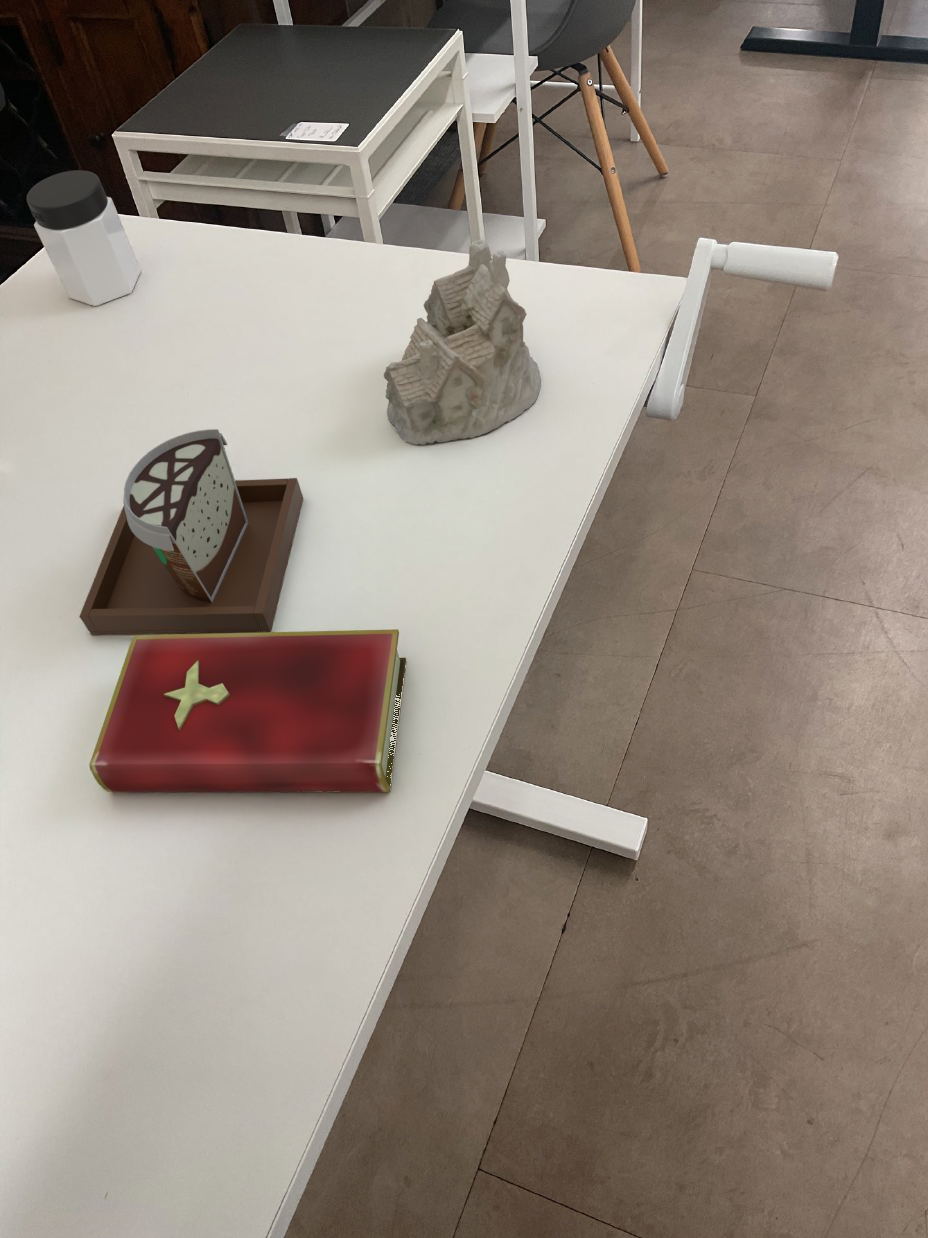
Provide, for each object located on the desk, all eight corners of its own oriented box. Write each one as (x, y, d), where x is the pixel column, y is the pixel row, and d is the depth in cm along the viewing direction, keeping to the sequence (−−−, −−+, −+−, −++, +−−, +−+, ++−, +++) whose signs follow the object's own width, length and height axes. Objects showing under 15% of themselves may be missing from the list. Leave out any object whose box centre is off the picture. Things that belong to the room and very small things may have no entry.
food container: (191, 507, 92) (152, 421, 85) (253, 510, 91) (220, 424, 83) (138, 610, 85) (90, 527, 77) (205, 616, 84) (164, 532, 76)
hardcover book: (389, 797, 71) (379, 766, 68) (109, 797, 74) (85, 767, 71) (406, 660, 79) (397, 627, 76) (151, 665, 82) (131, 633, 78)
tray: (91, 635, 84) (78, 616, 82) (141, 503, 94) (131, 483, 92) (270, 632, 82) (262, 613, 80) (303, 497, 92) (296, 477, 90)
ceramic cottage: (509, 317, 105) (487, 185, 93) (562, 416, 95) (545, 282, 83) (367, 364, 105) (327, 237, 93) (406, 468, 95) (366, 342, 83)
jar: (83, 266, 123) (39, 171, 113) (147, 261, 122) (108, 164, 112) (61, 309, 117) (13, 213, 108) (128, 304, 116) (86, 206, 107)
